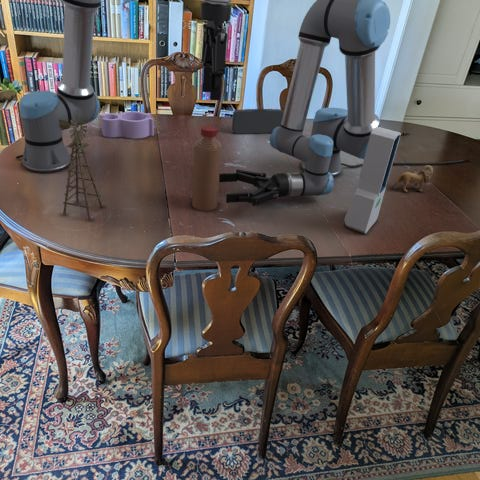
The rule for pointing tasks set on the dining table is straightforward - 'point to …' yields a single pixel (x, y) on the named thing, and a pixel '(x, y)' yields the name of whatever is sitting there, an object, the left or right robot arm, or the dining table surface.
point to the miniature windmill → (73, 145)
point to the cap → (208, 131)
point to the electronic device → (372, 179)
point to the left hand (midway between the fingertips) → (211, 95)
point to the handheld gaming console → (256, 120)
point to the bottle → (206, 173)
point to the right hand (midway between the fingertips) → (221, 187)
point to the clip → (127, 125)
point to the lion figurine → (415, 178)
